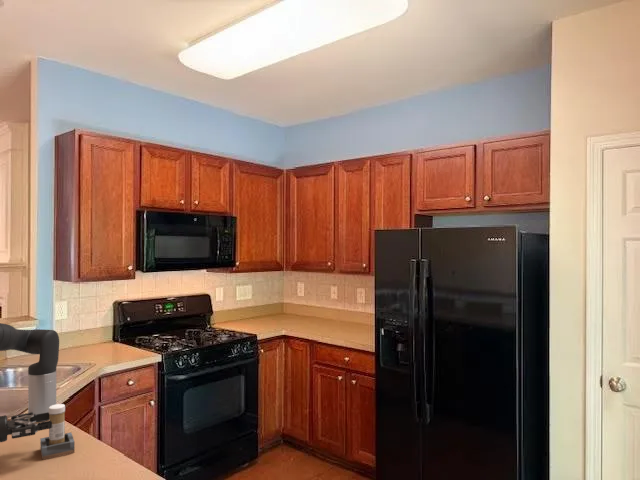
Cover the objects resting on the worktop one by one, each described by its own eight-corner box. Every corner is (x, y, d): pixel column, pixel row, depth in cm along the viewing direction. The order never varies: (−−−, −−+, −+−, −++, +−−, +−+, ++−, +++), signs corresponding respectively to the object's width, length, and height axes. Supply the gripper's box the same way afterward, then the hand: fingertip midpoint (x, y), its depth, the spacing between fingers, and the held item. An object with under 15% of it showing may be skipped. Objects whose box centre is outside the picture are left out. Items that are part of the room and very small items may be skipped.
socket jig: (40, 449, 152) (40, 438, 152) (71, 442, 157) (71, 432, 157) (42, 459, 145) (42, 448, 145) (74, 452, 150) (74, 441, 150)
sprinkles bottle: (64, 443, 154) (64, 402, 154) (65, 449, 150) (65, 406, 150) (48, 446, 152) (48, 404, 152) (48, 452, 148) (48, 409, 148)
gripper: (-13, 426, 135) (52, 414, 144) (-12, 411, 147) (48, 401, 156) (-13, 452, 135) (52, 439, 144) (-12, 435, 147) (48, 424, 156)
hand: (50, 419), depth 150 cm, fingers open, 8 cm apart
